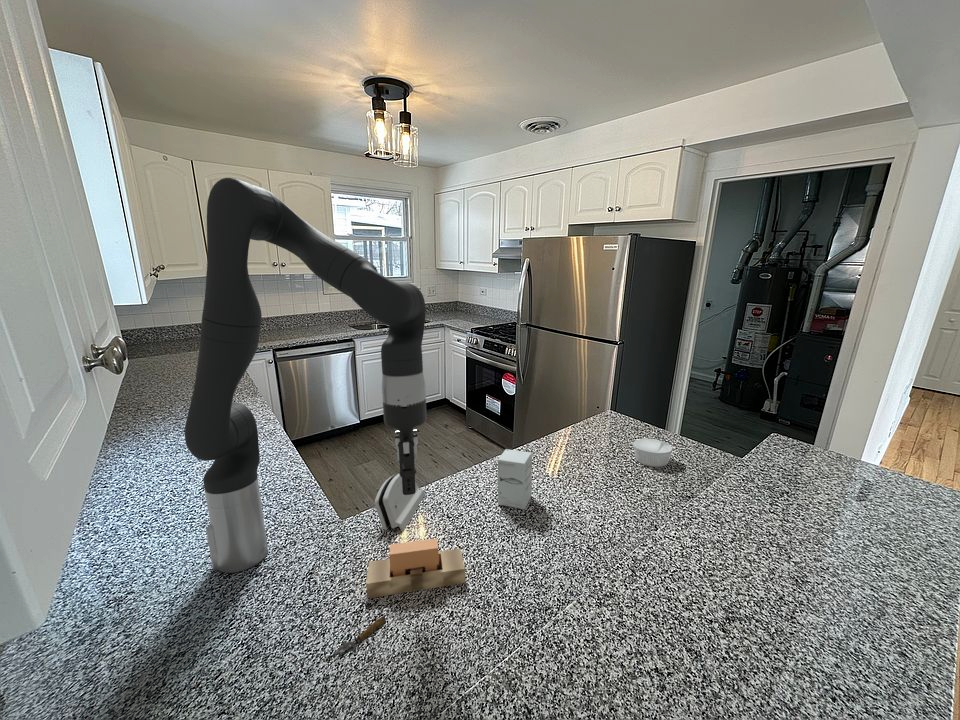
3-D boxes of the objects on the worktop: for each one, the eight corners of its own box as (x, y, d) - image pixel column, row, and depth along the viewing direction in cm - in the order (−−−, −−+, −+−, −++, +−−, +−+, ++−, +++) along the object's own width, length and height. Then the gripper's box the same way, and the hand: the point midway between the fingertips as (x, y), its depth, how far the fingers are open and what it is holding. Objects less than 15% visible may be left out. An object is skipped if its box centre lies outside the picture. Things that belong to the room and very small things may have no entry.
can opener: (383, 619, 67) (382, 613, 67) (390, 628, 65) (390, 622, 65) (331, 654, 61) (330, 648, 61) (338, 664, 59) (337, 658, 59)
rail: (367, 598, 71) (366, 583, 71) (370, 575, 77) (369, 561, 76) (465, 582, 74) (464, 568, 74) (461, 561, 80) (460, 548, 80)
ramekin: (678, 468, 118) (679, 452, 117) (640, 469, 118) (641, 453, 117) (661, 453, 129) (662, 438, 128) (627, 454, 129) (628, 438, 128)
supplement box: (497, 505, 100) (496, 459, 98) (506, 491, 107) (505, 447, 105) (525, 510, 98) (524, 463, 95) (532, 496, 104) (532, 451, 102)
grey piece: (402, 532, 90) (386, 493, 89) (385, 536, 92) (368, 498, 91) (426, 494, 107) (412, 461, 106) (411, 499, 108) (397, 466, 107)
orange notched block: (391, 587, 74) (389, 554, 72) (392, 576, 77) (390, 544, 75) (439, 580, 75) (438, 547, 74) (438, 569, 78) (437, 538, 77)
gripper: (384, 388, 76) (390, 467, 79) (379, 410, 62) (386, 505, 65) (424, 386, 77) (427, 463, 80) (427, 407, 63) (431, 499, 66)
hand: (409, 482), depth 72 cm, fingers open, 8 cm apart
